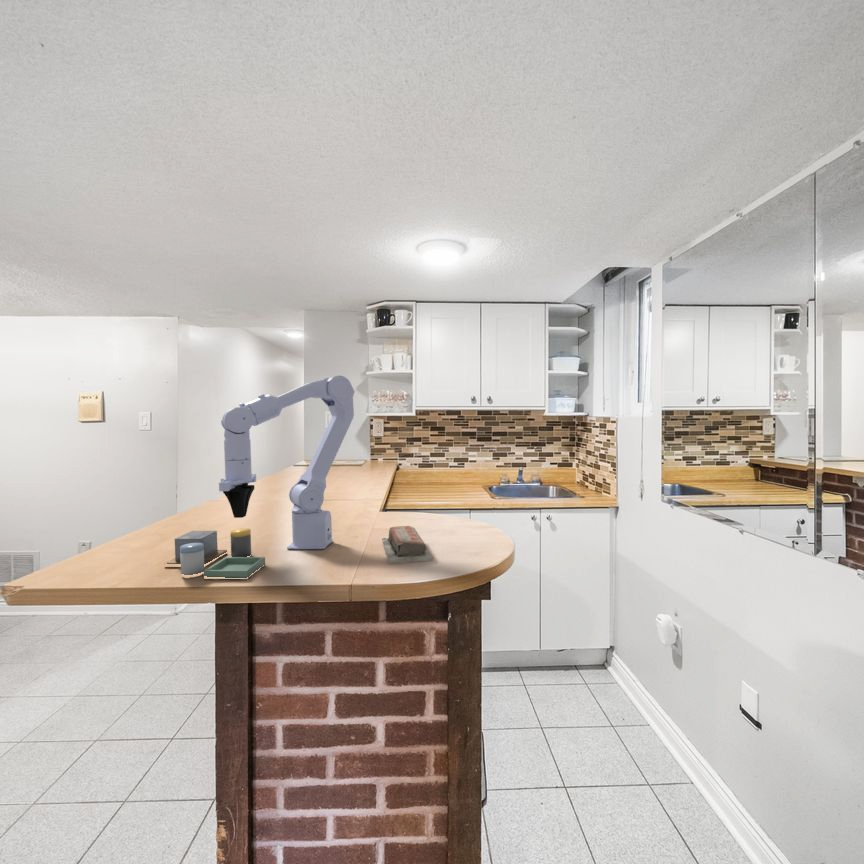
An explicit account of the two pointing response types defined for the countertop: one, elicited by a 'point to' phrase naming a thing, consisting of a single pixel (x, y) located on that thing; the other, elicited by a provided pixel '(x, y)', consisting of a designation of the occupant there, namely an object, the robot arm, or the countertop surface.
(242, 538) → the amber part
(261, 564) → the parts tray
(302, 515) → the robot arm
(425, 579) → the countertop surface
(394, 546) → the packaged product
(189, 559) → the blue part
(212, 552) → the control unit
